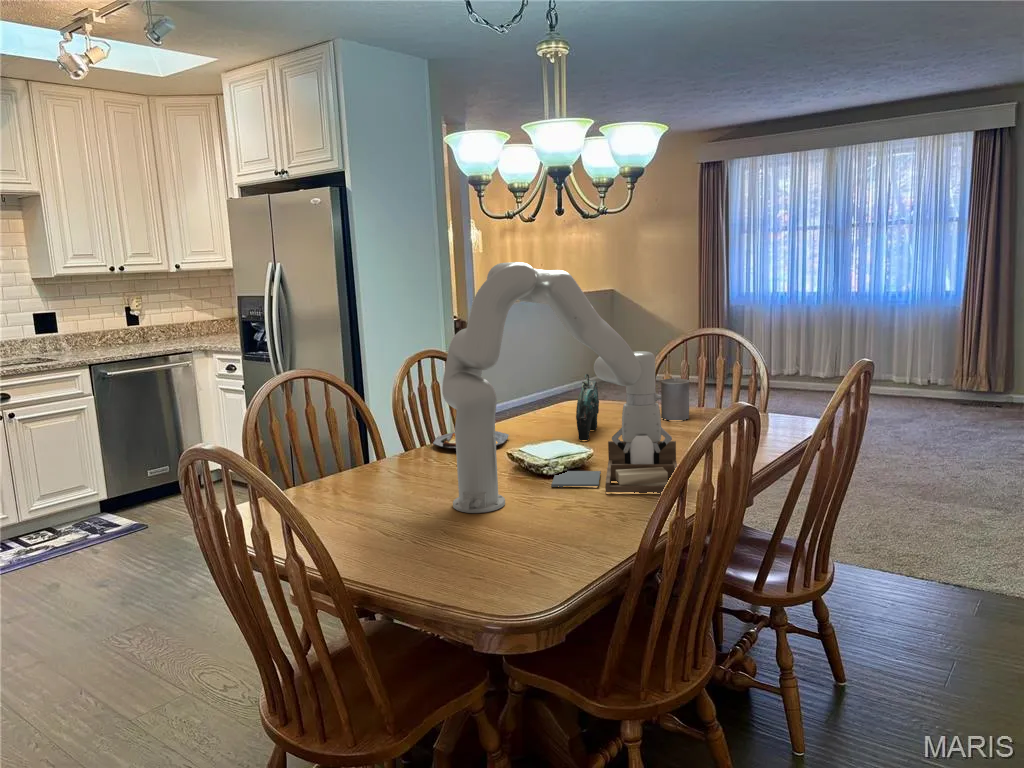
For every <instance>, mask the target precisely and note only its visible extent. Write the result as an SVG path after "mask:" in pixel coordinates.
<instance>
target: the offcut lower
mask: <svg viewBox="0 0 1024 768" xmlns="http://www.w3.org/2000/svg"><path fill="white" fill-rule="evenodd" d="M666 484H667V482H662V483H646V484H629V485H621V486H665V485H666ZM617 485H619V483H618V484H617Z"/></svg>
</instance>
